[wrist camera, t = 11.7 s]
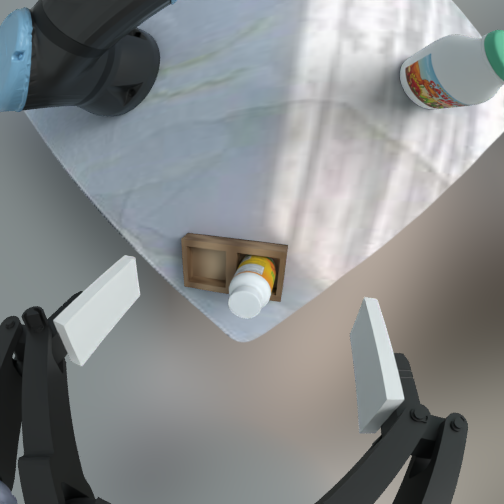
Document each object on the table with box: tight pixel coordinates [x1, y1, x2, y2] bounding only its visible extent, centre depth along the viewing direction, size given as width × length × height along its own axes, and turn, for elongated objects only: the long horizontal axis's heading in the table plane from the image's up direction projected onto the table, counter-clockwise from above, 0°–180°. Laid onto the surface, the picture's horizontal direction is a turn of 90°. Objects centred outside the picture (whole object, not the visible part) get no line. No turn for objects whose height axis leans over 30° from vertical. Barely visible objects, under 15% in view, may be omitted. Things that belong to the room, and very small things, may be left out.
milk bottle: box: [400, 30, 504, 109], centre depth 17 cm, size 8×8×20 cm
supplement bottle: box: [228, 254, 276, 319], centre depth 36 cm, size 5×5×10 cm
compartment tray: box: [181, 233, 288, 302], centre depth 41 cm, size 15×8×2 cm, turn 87°
